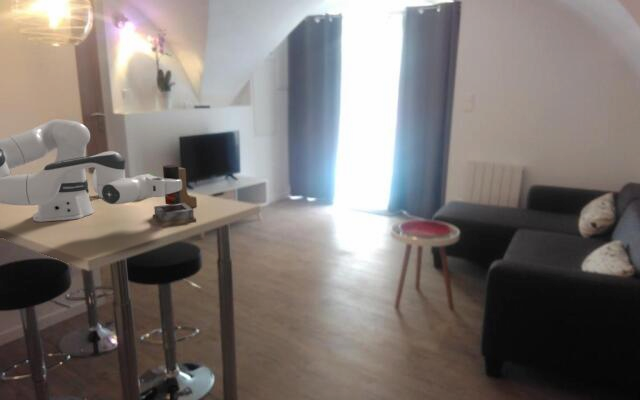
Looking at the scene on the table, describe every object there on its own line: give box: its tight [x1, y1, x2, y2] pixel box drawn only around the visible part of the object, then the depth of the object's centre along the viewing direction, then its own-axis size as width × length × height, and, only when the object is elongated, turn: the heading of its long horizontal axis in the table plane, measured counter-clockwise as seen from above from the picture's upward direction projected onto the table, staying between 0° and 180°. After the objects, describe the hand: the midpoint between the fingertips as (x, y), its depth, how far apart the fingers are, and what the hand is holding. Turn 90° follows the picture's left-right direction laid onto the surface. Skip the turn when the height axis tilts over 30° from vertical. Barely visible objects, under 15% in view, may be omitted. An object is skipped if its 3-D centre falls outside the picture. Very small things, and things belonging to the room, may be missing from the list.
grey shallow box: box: [152, 203, 197, 227], centre depth 191 cm, size 14×14×5 cm
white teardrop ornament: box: [91, 168, 98, 195], centre depth 226 cm, size 8×8×18 cm
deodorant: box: [162, 164, 181, 205], centre depth 188 cm, size 6×6×15 cm
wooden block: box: [179, 166, 198, 209], centre depth 207 cm, size 9×4×18 cm, turn 134°
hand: (173, 179), depth 188 cm, fingers closed on deodorant, 6 cm apart
